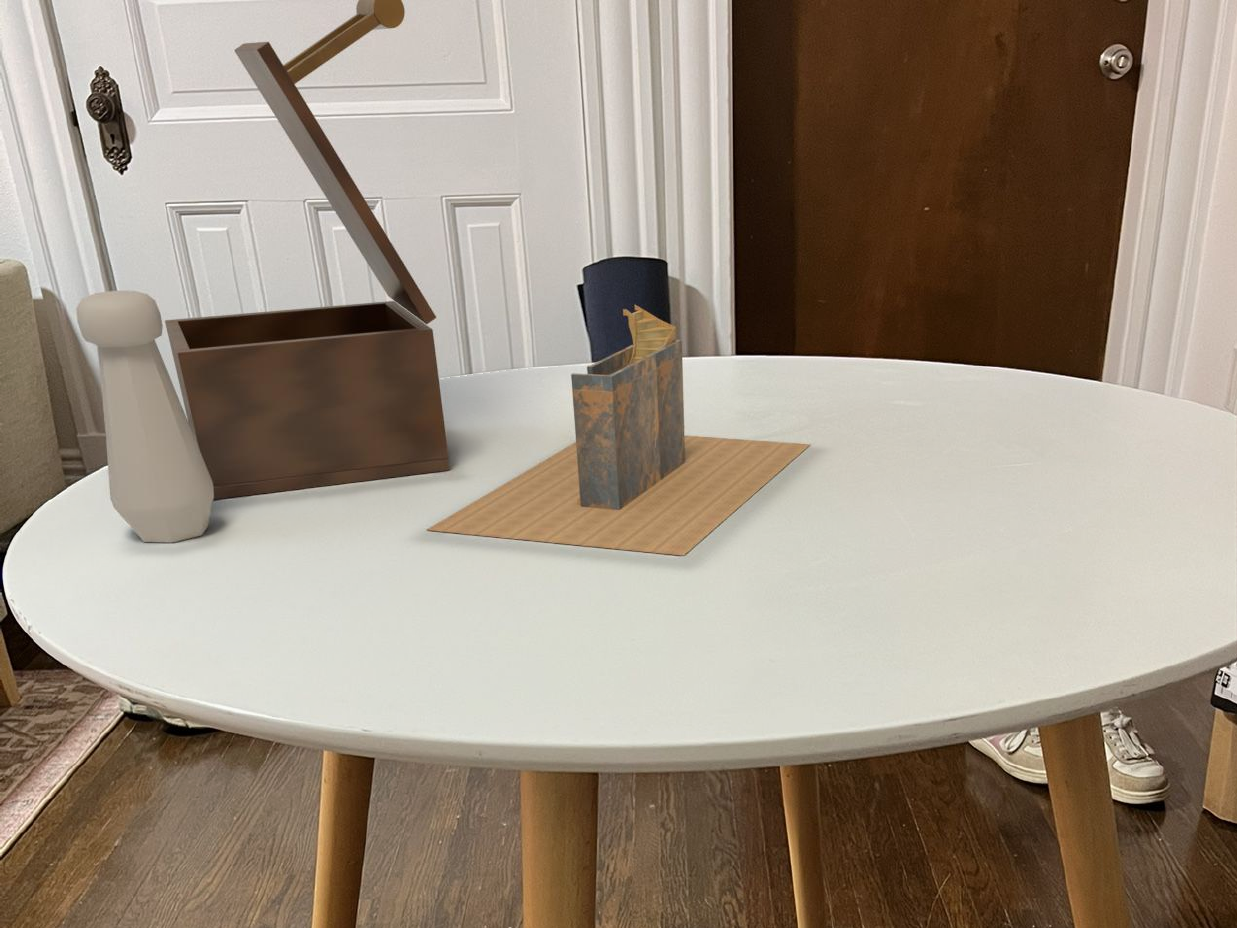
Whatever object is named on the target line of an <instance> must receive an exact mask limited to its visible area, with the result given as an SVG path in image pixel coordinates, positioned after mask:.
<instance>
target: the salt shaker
mask: <svg viewBox="0 0 1237 928" xmlns="http://www.w3.org/2000/svg"><path fill="white" fill-rule="evenodd" d="M75 311H76V319H77V326H78V328H79V331H80V333H81V334H80V335H81V336H82V338H83V339H84V341H85V342H87V343H90V344H93V345H95V346H96V347H97V354H98V356H97V357H98V366H99V368H98V369H99V379H100V387H101V400H102V410H103V420H104V421H103V422H104V431H105V433H104V434H105V442H106V457H107V458H106V459H107V473H108V485H109V499H110V501H111V504H112V506H113V508H114V510H115V511H116V512H117V513H118V514H119V515H120V516H121V518H122V519H123V520H124V521H125V522H126V524H128V526H129V527H130V528H131V529H132V530H133V532H135V533H136V535H137V536H138V537H139V539H140V540H141V541H142V542H143V543H167V544H168V543H169V544H170V543H171V544H173V543H177V542H181V541H185V540H189V539H194V538H197V537H200V536H203V534H204V533H205V532H206V530H207V529H208V527H209V524H210V518H211V511H212V505H213V502H214V500H213V498H214V490H213V482H212V479H211V477H210V474H209V472H208V470H207V467H206V465H205V462H204V460H203V457H202V455H201V452H200V450H199V447H198V445H197V442H196V440H195V438H194V435H193V433H192V430H191V428H190V425H189V423H188V419H187V415H186V412H185V411H184V408H183V406H182V404H181V401H180V399H179V396H178V393H177V391H176V388H175V386H174V384H173V381H172V378H171V376H170V374H169V372H168V369H167V366H166V364H165V361H164V359H163V357H162V354H161V351H160V349H159V347H158V344H157V342H156V339H158V338H160V337H162V336H163V327H164V326H163V321H162V320H163V319H162V314H161V312H160V309H159V306H158V304H157V301H156V300H155V299H154V298H153V297H152V296H150V295H149V294H148V293H144V292H140V291H136V290H110V291H102V292H101V291H100V292H96V293H91V294H89V295H87V296H86V297H82V298H81V299H80V301H79V303H78V304H77V306H76V310H75Z"/></svg>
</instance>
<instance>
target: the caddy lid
mask: <svg viewBox="0 0 1237 928" xmlns="http://www.w3.org/2000/svg"><path fill="white" fill-rule="evenodd" d="M355 10H356V11H355V13H356V14H354V15H353V16H352V17H350V18H349V19H348V20H346V21H344V22H343V23H342V24H340V25H338V26H337V27H336V28H335V29H333V30H332V31H330V32H329V33H328V34H326V35H325V36H323V37H321V38H320V39H319V40H316V42H314V43H313V44H312V45H310V46H309V47H307V48H306V49H305V50H302V51H301V52H300V53H298V54H297V55H296V56H294V57H293V58H291V59H290V60H289V61H287V62H286V63H284V64H283V63H282V61H281V59H280V58H279V56H278V54H277V53H276V51H275V50H274V48H273V47H272V45H271V43H270V42H269V41H261V42H260V41H259V42H246V43H242V44H241V45H239V46H238V47H237V48H235V49H234V53H235V54H236V56H237V57H238V60H239V61H240V62H241V64H242V66H243V67H244V68H245V70H246V72H247V73H248V75H249V76H250V78H251V80H252V81H253V83H254V85H255V86H256V88H257V89H258V91H259V93H260V95H261V96H262V97H263V99H264V101H265V102H266V104H267V105H268V107H269V109H270V110H271V112H272V114H273V115H274V117H275V118H276V119H277V122H278V123H279V125H280V126H281V128H282V129H283V131H284V132H285V134H286V136H287V137H288V139H289V140H290V142H291V144H292V146H293V147H294V148H295V150H296V152H297V153H298V155H299V156H300V158H301V159H302V161H303V163H304V165H305V166H306V168H307V169H308V171H309V172H310V174H311V176H312V177H313V179H314V180H315V182H316V183H317V185H318V187H319V188H320V190H321V192H322V193H323V194H324V196H325V198H326V199H327V202H328V203H329V204H330V206H331V207H332V209H333V210H334V212H335V214H336V215H337V217H338V219H339V220H340V222H341V224H342V225H343V227H344V229H346V232H347V233H348V235H349V237H350V238H351V240H352V241H353V243H354V244H355V246H356V248H357V249H358V250H359V252H360V254H361V256H362V257H363V258H364V260H365V261H366V263H367V265H368V266H369V268H370V270H371V272H372V273H373V274H374V276H375V278H376V279H377V281H378V283H379V284H380V286H381V287H382V289H383V290H384V292H385V294H386V295H387V297H388V298H390V299H391V300H392V301H395V302H396V303H397V304H399V305H400V306H401V307H403V308H404V309H405V310H407V311H408V312H410V313H411V314H412V315H414V316H415V317H416V318H418V319H419V320H420V321H422V322H423V323H424V324H426V325H428V324H430V323H431V322H433V321H434V320H436V319H437V316H436V314H435V312H434V311H433V309H432V307H431V306H430V305H429V303H428V301H427V299H426V298H425V296H424V294H423V292H422V290H421V289H420V288H419V286H418V284H417V283H416V281H415V280H414V278H413V276H412V275H411V273H410V271H409V269H408V268H407V267H406V265H405V264H404V263H405V262H404V261H403V260H402V259H401V257H400V255H399V254H398V251H397V250H396V249H395V247H394V244H392V242H391V240H390V239H389V237H388V235H387V233H386V232H385V230H384V228H383V227H382V225H381V224H380V222H379V220H378V218H377V217H376V215H375V214H374V212H373V210H372V208H370V206H369V204H368V202H367V201H366V199H365V198H364V195H363V194H362V193H361V191H360V189H359V188H358V186H357V185H356V182H355V181H354V179H353V178H352V176H351V174H350V173H349V171H348V169H347V168H346V166H345V164H344V162H343V161H342V159H341V158H340V157H339V155H338V153H337V151H336V149H335V148H334V146H333V145H332V143H331V141H330V140H329V139H328V136H327V135H326V133H325V132H324V130H323V128H322V126H321V125H320V124H319V122H318V120H317V119H316V117H315V115H314V113H313V112H312V111H311V109H310V107H309V105H308V103H307V102H306V100H305V99H304V97H303V96H302V94H301V92H300V91H299V89H298V87H297V86H296V85H297V83H299V82H300V81H301V80H303V79H305V78H306V77H307V76H308V75H310V74H312V73H313V72H314V71H316V70H317V69H318V68H320V67H321V66H323V65H324V64H326V63H328V62H329V61H330V60H332V59H333V58H334V57H336V56H337V55H339V54H340V53H342V52H343V51H344V50H346V49H347V48H349V47H350V46H352V45H353V44H354V43H356V42H357V41H359V40H361V39H362V38H363V37H365V36H366V35H368V34H369V33H370V32H372V31H377V30H388V29H395V28H397V27H399V26H401V24H402V23H403V21H404V18H405V12H406V11H405V5H404V3H403V1H402V0H357V4H356V8H355Z"/></svg>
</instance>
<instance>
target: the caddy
mask: <svg viewBox="0 0 1237 928" xmlns="http://www.w3.org/2000/svg"><path fill="white" fill-rule="evenodd" d="M164 324H165V328H166V332H167V336H168V341H169V344H170V345H169V346H170V350H171V355H172V358H173V362H174V366H175V371H176V376H177V379H178V384H179V389H180V392H181V397H182V401H183V406H184V410H185V415H186V418H187V420H188V423H189V425H190V428H191V430H192V433H193V435H194V438H195V440H196V442H197V445H198V447H199V450H200V452H201V455H202V457H203V460H204V462H205V465H206V467H207V470H208V472H209V474H210V477H211V479H212V482H213V490H214V498H213V501H214V500H221V499H229V498H230V499H231V498H237V497H245V496H246V497H247V496H253V495H262V494H269V493H270V494H271V493H278V492H284V491H294V490H302V489H303V490H304V489H309V488H318V487H327V486H334V485H342V484H343V485H344V484H349V483H350V484H351V483H357V482H366V481H373V480H382V479H389V478H390V479H391V478H398V477H406V476H412V475H413V476H414V475H420V474H421V475H423V474H430V473H437V472H445V471H446V472H447V471H450V470H451V466H450V457H449V448H448V441H447V432H446V426H445V425H446V424H445V416H444V409H443V401H442V392H441V385H440V378H439V377H440V375H439V370H438V369H439V368H438V361H437V353H436V346H435V344H436V343H435V338H434V330H433V328H431V327H430V326H429V325H428V324H425V323H424V322H423V321H421V320H420V319H419V318H417V317H416V316H414V315H413V314H412V313H410V312H409V311H408V310H406V309H405V308H404V307H402V306H401V305H399V304H398V303H397V302H395V301H394V300H388V301H387V300H386V301H376V302H364V303H353V304H351V303H350V304H339V305H328V306H317V307H306V308H295V309H281V310H270V311H260V312H259V311H258V312H257V311H256V312H246V313H245V312H244V313H235V314H222V315H213V316H211V315H210V316H200V317H186V318H175V319H165V320H164Z"/></svg>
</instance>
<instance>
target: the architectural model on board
mask: <svg viewBox="0 0 1237 928" xmlns="http://www.w3.org/2000/svg"><path fill="white" fill-rule="evenodd" d="M622 315H623V316H627V318H628V328H629V330H630V334H631V337H632V338H631V339H632V344H630V345H628V346H627V347H625V348H622V349H621V350H619V351H617V352H615V353H612V354H610V355H609V356H607V357H605V358H603V359H600V360H599V361H596V362H594V363H592V364H590V365H588V366H586V372H587V373H575V372H573V373H571V374H570V376H571V377H570V379H571V391H572V405H573V419H574V435H575V442H574V443H572V444H570V445H568V446H567V447H565V448H563V449H562V450H560V451H558V452H556V453H555V454H553V455H552V456H550V457H548V458H547V459H544V460H543V461H542V462H539V463H538V464H536V465H534V466H533V467H531V468H529V469H527V470H526V471H524V472H522V473H521V474H519V475H517V476H516V477H514V478H512V479H510V480H509V481H507V482H505V483H504V484H502V485H500V486H498V487H497V488H495V489H494V490H492V491H490V492H488V493H487V494H485V495H483V496H481V497H480V498H478V499H477V500H474V501H473V502H471V503H470V504H468V505H466V506H465V507H463V508H460V509H459V510H458V511H455V512H454V513H452V514H451V515H449V516H447V517H446V518H444V519H442V520H441V521H439V522H437V523H436V524H433V525H431V526H430V527H429V528H427V529H426V531H432V532H440V533H441V532H444V533H453V534H461V535H463V534H464V535H471V536H472V535H473V536H481V537H482V536H483V537H491V538H492V537H494V538H502V539H511V540H514V539H515V540H523V541H532V542H544V543H551V544H552V543H553V544H563V545H571V546H573V545H574V546H583V547H594V548H603V549H613V550H621V551H622V550H624V551H634V552H643V553H652V554H662V555H663V554H664V555H675V556H685V555H686V554H688V552H690V551H691V550H692V549H693V548H694V547H696V546H697V545H698V544H699V543H700V542H701V541H702V540H704V539H705V538H706V537H707V536H708V535H709V534H711V532H713V531H714V530H715V529H716V528H717V527H718V526H719V525H720V524H722V523H723V522H724V521H725V520H726V519H728V518H729V516H731V515H732V514H733V513H734V512H735V511H736V510H737V509H739V508H740V507H741V506H742V505H744V503H745V502H747V501H748V500H749V499H750V498H751V497H753V496H754V495H755V494H756V493H757V492H758V491H759V490H761V488H763V487H764V486H765V485H766V484H767V483H768V482H770V481H771V480H772V479H773V478H774V477H775V476H776V475H778V474H779V473H780V472H781V471H782V470H783V469H784V468H785V467H787V466H788V465H789V464H790V463H791V462H792V461H793V460H794V459H796V458H797V457H798V456H799V455H801V453H803V451H805V450H806V449H808V447H810V446H811V443H800V442H799V443H798V442H784V441H769V440H755V439H740V438H726V437H714V436H713V437H711V436H699V435H685V407H684V366H683V340H682V339H676V337H677V332H676V331H677V330H676V329H677V327H676V326H675V325H673V324H670V323H668V322H666V321H663V320H662V319H660V318H658V317H656V316H655V315H653V314H652V313H650V312H648V311H646V310H645V309H643V308H642V307H640V306H638V305H636V304H634V312H631V311H630V310H628V309H626V308H623V309H622Z"/></svg>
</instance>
